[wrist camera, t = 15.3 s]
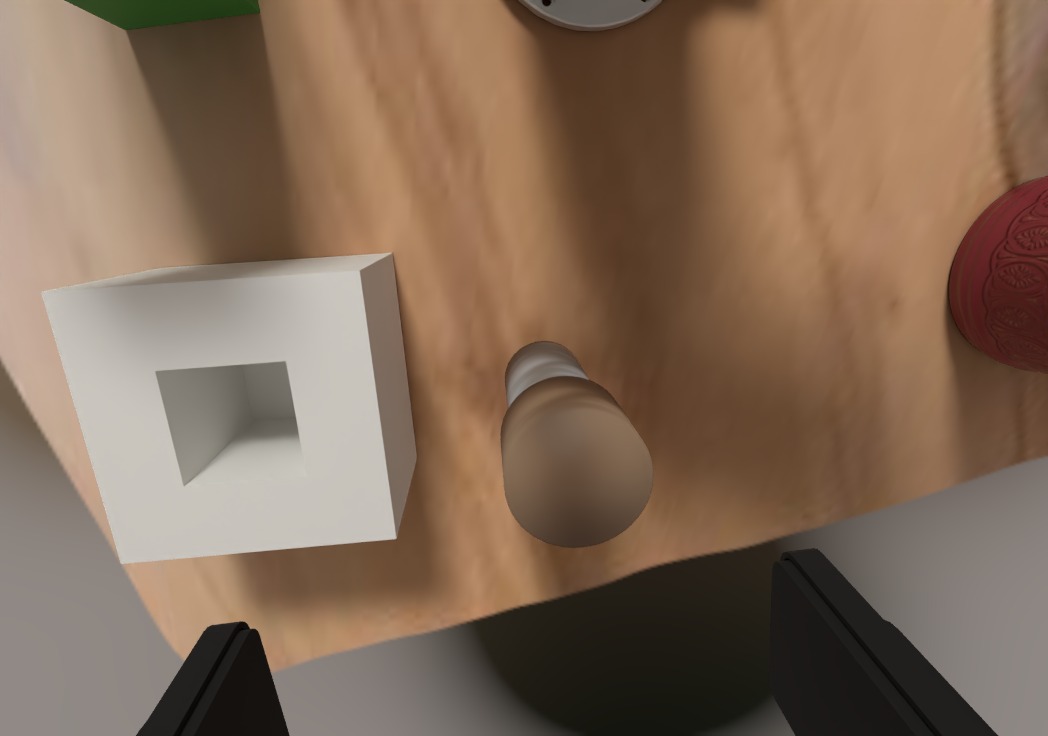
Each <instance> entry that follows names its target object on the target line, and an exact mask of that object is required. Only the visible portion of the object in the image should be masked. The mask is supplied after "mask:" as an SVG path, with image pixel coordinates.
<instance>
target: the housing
mask: <svg viewBox="0 0 1048 736" xmlns="http://www.w3.org/2000/svg"><path fill="white" fill-rule="evenodd" d="M41 293H42V297H43V300H44V303H45V307H46V310H47V314H48V317H49V320H50V324H51V327H52V331H53V334H54V337H55V341H56V344H57V348H58V351H59V354H60V358H61V361H62V365H63V368H64V371H65V375H66V378H67V382H68V385H69V388H70V392H71V395H72V399H73V402H74V405H75V409H76V412H77V416H78V419H79V422H80V426H81V429H82V433H83V436H84V439H85V443H86V446H87V450H88V453H89V456H90V460H91V463H92V467H93V470H94V473H95V477H96V480H97V484H98V487H99V490H100V494H101V497H102V501H103V504H104V507H105V511H106V514H107V518H108V521H109V524H110V528H111V531H112V535H113V538H114V541H115V545H116V548H117V552H118V555H119V558H120V562H121V564H126V563H137V562H148V561H159V560H170V559H181V558H192V557H203V556H214V555H225V554H236V553H247V552H259V551H270V550H281V549H292V548H303V547H314V546H325V545H336V544H347V543H358V542H369V541H380V540H391V539H397V535H398V531H399V527H400V523H401V519H402V516H403V512H404V508H405V504H406V500H407V496H408V492H409V488H410V484H411V480H412V476H413V472H414V469H415V465H416V461H417V452H416V444H415V436H414V428H413V419H412V411H411V403H410V394H409V386H408V378H407V370H406V361H405V353H404V345H403V336H402V328H401V320H400V312H399V303H398V295H397V287H396V278H395V270H394V262H393V254H392V253H381V254H366V255H351V256H335V257H320V258H304V259H289V260H274V261H258V262H243V263H227V264H212V265H197V266H181V267H166V268H158V269H153V270H148V271H143V272H138V273H133V274H128V275H123V276H118V277H113V278H107V279H102V280H97V281H92V282H87V283H82V284H77V285H72V286H67V287H62V288H57V289H52V290H47V291H42V292H41Z"/></svg>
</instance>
